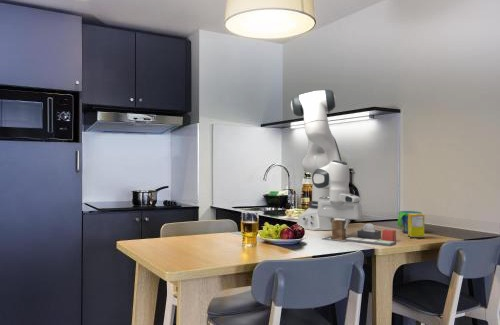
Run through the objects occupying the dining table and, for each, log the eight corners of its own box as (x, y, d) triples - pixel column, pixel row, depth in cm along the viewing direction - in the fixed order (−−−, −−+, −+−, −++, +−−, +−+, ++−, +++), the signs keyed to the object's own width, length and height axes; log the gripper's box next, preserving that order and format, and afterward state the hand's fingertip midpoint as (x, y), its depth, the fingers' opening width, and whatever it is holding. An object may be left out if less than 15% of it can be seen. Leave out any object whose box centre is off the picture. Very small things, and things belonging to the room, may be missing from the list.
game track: (344, 241, 195) (344, 239, 195) (352, 238, 202) (352, 236, 202) (389, 246, 184) (389, 243, 184) (396, 243, 190) (396, 241, 190)
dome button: (361, 235, 203) (361, 223, 203) (365, 234, 207) (365, 222, 207) (372, 237, 200) (372, 224, 200) (376, 235, 204) (376, 223, 204)
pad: (321, 239, 200) (321, 238, 200) (332, 236, 209) (332, 235, 209) (345, 241, 193) (345, 241, 193) (355, 238, 202) (355, 237, 202)
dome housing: (357, 238, 202) (357, 230, 202) (363, 236, 209) (363, 228, 209) (374, 240, 198) (374, 232, 198) (380, 238, 204) (381, 230, 204)
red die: (382, 240, 198) (382, 230, 198) (385, 239, 201) (385, 228, 201) (392, 241, 195) (392, 230, 195) (395, 240, 199) (395, 229, 199)
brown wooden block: (330, 239, 200) (331, 220, 200) (335, 237, 205) (336, 219, 205) (341, 240, 197) (342, 221, 197) (346, 238, 202) (346, 220, 202)
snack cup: (405, 235, 215) (405, 213, 215) (390, 231, 225) (390, 211, 225) (430, 233, 222) (430, 212, 222) (414, 230, 231) (414, 210, 231)
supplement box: (420, 236, 210) (421, 213, 210) (424, 238, 204) (424, 214, 204) (407, 236, 210) (407, 212, 210) (410, 238, 204) (411, 214, 204)
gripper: (314, 196, 205) (314, 227, 204) (358, 198, 193) (357, 231, 193) (321, 195, 210) (320, 225, 210) (363, 197, 198) (363, 229, 198)
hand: (338, 228), depth 201 cm, fingers closed on brown wooden block, 4 cm apart
